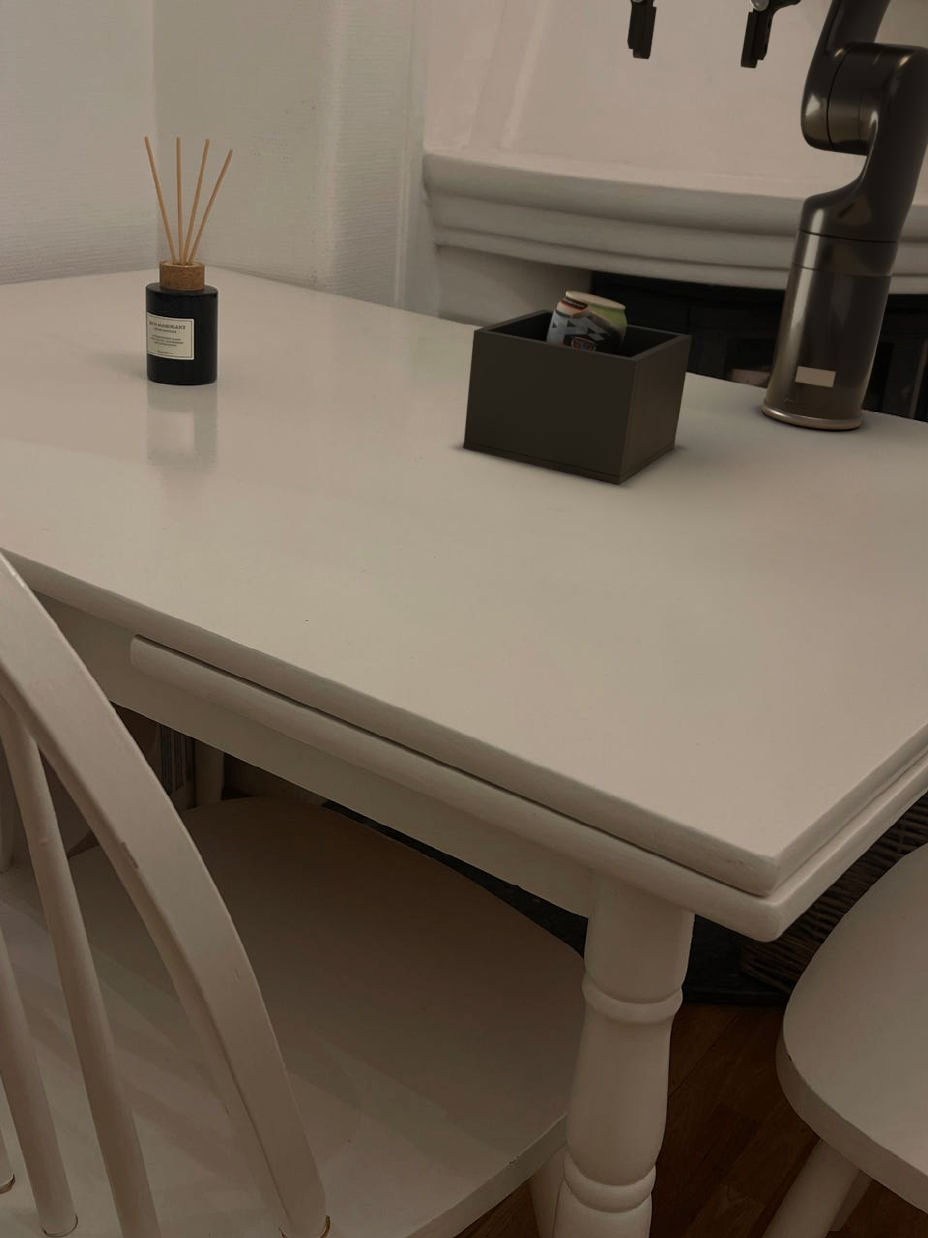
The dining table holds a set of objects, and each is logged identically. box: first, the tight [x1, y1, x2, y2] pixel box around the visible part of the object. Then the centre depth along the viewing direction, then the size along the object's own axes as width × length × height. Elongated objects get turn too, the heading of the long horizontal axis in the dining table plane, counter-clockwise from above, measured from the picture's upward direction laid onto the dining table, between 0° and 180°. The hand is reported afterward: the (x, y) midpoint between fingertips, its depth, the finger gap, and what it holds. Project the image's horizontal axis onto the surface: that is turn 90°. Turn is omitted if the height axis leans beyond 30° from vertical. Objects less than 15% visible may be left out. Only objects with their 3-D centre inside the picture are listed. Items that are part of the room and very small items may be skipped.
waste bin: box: [462, 308, 693, 485], centre depth 104 cm, size 14×14×10 cm
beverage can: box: [546, 290, 628, 356], centre depth 103 cm, size 6×7×12 cm
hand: (693, 62), depth 96 cm, fingers open, 8 cm apart
